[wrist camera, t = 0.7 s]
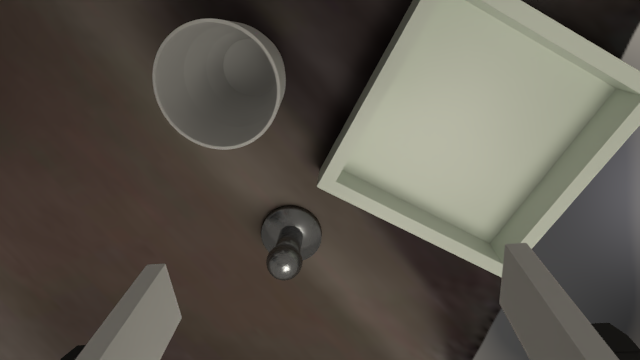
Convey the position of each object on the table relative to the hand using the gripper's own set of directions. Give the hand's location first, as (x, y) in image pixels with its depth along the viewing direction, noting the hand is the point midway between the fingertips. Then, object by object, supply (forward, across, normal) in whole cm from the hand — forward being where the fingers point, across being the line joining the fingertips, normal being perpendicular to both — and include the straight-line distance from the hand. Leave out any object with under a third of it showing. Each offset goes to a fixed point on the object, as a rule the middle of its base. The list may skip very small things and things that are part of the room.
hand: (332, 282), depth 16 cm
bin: (+22, +11, -1) cm, 24 cm away
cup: (+22, -7, +6) cm, 24 cm away
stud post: (+22, -5, -10) cm, 25 cm away
